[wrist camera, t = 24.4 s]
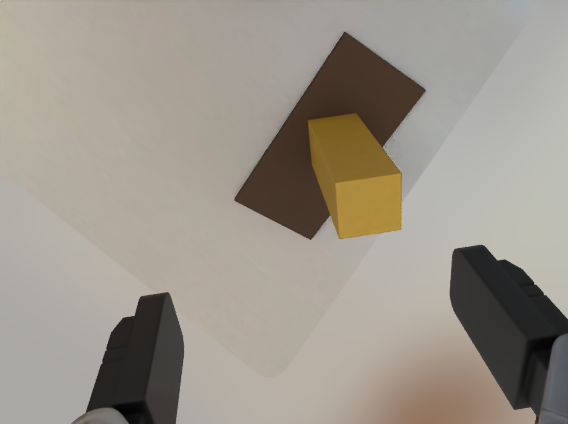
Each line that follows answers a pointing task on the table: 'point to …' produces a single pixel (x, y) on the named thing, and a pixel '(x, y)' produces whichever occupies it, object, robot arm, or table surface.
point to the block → (355, 176)
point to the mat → (320, 104)
